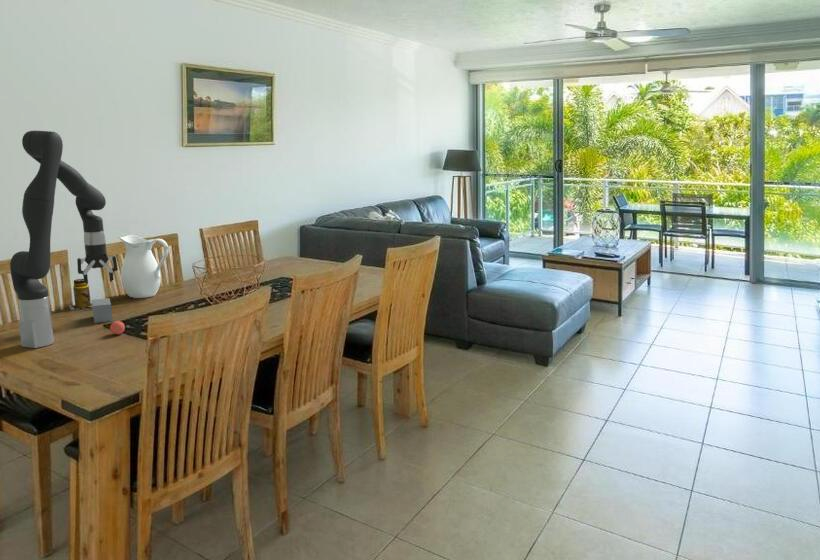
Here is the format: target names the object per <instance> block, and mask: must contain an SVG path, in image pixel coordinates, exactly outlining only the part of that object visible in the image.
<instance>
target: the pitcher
mask: <svg viewBox="0 0 820 560" xmlns="http://www.w3.org/2000/svg"><path fill="white" fill-rule="evenodd" d="M118 239H119V240H120V241H121V242H122V243H123V244H124V245H125V248H126V249H125V256H124V259H123V262H122V266H121V270H120V281H121V285H122V287H123V290H124V291H125V292H126V294H127V295H128V297H130V298H132V297H133V298H132V299H146V298H151V297H154V296H155V295H156V294H157V292H158V291H159V289H160V285H161V281H162V277H161V276H162V275H161V270H160V269H161V267H162V265H163V264H164V262H165V261H166V259H167V257H168V255H169V250H170V249H169V245H168V243H167V242H166V240H164V239H163V238H154V239H153V238H152V239H145V238H143V237H140V236H138V235H137V234H136V235H135V234H128V235H125V236H122V237H120V236H119V237H118ZM155 243H159V244H161V245H162V246H163V250H164V251H163V256H162V258H161V259H160V261H159V262H157V260H156V258H155V255H154V254H153V252H152V248H153V245H154V244H155Z"/></svg>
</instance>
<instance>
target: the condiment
mask: <svg viewBox="0 0 820 560" xmlns="http://www.w3.org/2000/svg"><path fill="white" fill-rule="evenodd" d="M88 284H89V283H88ZM88 284H86V283H85V282H84V278H78V279H77V278H76V279H74V280H73V288H72V289H73V297H74V304H71V305H68V307H69V309H70V310H72V311H73V310H80V308H82V309H86V308H85V307H89V306H92V301H91V296H90V295H91V294H90V285H88ZM72 307H73V308H72ZM75 308H76V309H75Z"/></svg>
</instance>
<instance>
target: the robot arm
mask: <svg viewBox="0 0 820 560" xmlns="http://www.w3.org/2000/svg"><path fill="white" fill-rule="evenodd" d="M21 143H22V147H23V150H24V151H25V153H26V154H27V155H29V156H30V157H31V158H32V159H34V160H35V161H36V162H37V163H39V168H38V171H37V173H36V175H35V176H34V178H33V179H32V180H31V182H30V183H29V184H28V186H27V187H26V189H25V191H24V194H23V199H22V206H21V207H22V208H21V214H22V218H23V221H24V223H25V226H26V228H27V230H28V231H27V232H28V235H29V246H28V247H29V248H28V251H27V250H26V251H18V252H16V253H14V254H13V256H12V257H11V259H10V263H9V269H10V270H9V271H10V275H11V280H12V281H11V282H12V286H13V289H14V292H15V293H16V295H17V302H18V308H19V316H20V318H19V320H18V329H19V335H20V338H19V339H20V344H21V347H24V348H30V349H37V348H42V347H46V346H49V345H52V344H54V342H55V337H54V329H53V323H52V313H51V305H50V297H49V296H50V295H49V290H48V288H47V287H46V286H45V285H44V284H42V282H41V281H40V279H43V278H45V277H46V276H47V275H48V274H49V272H50V267H51V238H52V237H51V235H52V225H53V224H52V221H53V215H54V214H53V213H54V208H55V194H56V187H57V181H60V182H61V184H62V185H63V186H64V187H65V189H67V191H68V192H70V193H71V195H72V196H74V197H75V206H76V209H77V211H78V213H79V217H80V218H81V222H82V226H83V228H82V229H83V244H84V253H85V257H84V258H83V257H82V258H80V257H78V258H77V259H76V260H77V263H76V264H77V274H79V275H82V276H83V279H84V282H85V283H86V284H89V277H88V273H89V271H90V270H91V269H97V268H99V269H101V268H104V269H106V270H107V271H108V275H109V282H110V283H112V282H113V281H114V272H117V271H118V263H117V262H118V261H117V256H116V255H111V256H108V254H107V244H106V236H105V230H104V222H103V221H104V220H103V218H102V217H101V216H98V215H96V214H94V212H93V211H101V210H103V209H104V208H105V207H106V204H107V203H106V197H105V195H104V194H103V193H102V191H100V190H99V189H98V188H96V187H94V186H93V184H90V183H89V182H88V181H87V180H86V179H85V177H84V176H82V174H81V173H80V172H79V171H78V170H76V169H75V167H72V166H71V165H69V164H67V163H66V162H64V161H63V160H62V155H63V147H64V144H63V139H62V137H61V135H60V134H59V133H58V132H55V131H50V130H49V131H48V130H47V131H46V130H28V131H26V132H25V133H24V134H23V137H22V140H21ZM109 260H110V262H111V263H112V264H113V267H111V266H110V265H109V264H107V262H108V261H109ZM84 262H86V264H87V266H86V267H85V268H84V270H83V269H82V265H83V264H84Z"/></svg>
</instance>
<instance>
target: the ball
mask: <svg viewBox="0 0 820 560" xmlns="http://www.w3.org/2000/svg"><path fill="white" fill-rule="evenodd" d="M125 327H126V326H125V323H123V322H122V321H119V320H116V321H114V322H113V321H112V323H111V324H110V327H109V329H110V332H111V334H112V335H113V334H114V335H121V334H122V333H124V331H125V329H126V328H125Z"/></svg>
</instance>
